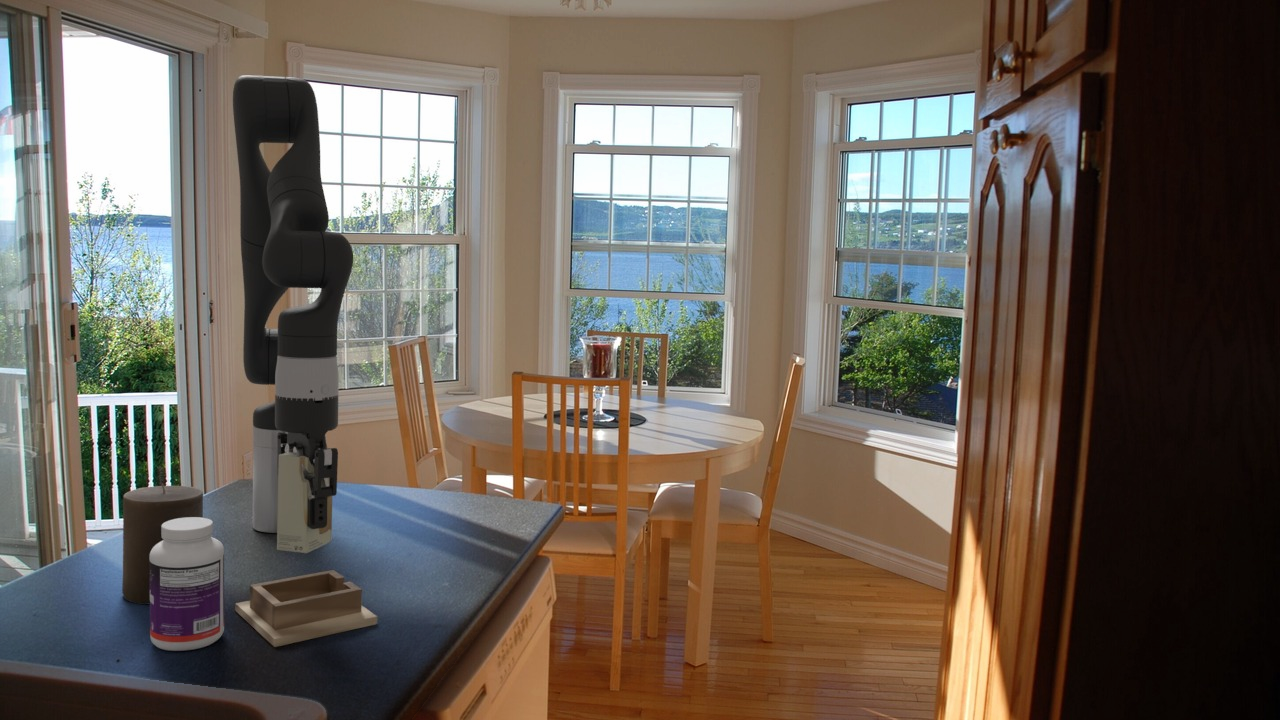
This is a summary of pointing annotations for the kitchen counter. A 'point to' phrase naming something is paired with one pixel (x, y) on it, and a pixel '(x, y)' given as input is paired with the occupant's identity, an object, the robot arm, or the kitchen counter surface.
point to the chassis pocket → (305, 608)
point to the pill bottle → (186, 586)
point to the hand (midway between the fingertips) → (305, 520)
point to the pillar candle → (150, 530)
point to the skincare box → (297, 508)
